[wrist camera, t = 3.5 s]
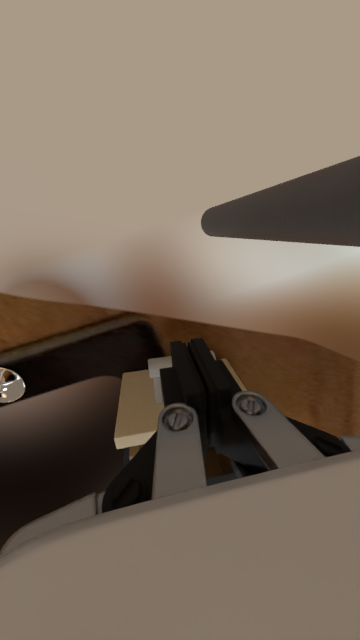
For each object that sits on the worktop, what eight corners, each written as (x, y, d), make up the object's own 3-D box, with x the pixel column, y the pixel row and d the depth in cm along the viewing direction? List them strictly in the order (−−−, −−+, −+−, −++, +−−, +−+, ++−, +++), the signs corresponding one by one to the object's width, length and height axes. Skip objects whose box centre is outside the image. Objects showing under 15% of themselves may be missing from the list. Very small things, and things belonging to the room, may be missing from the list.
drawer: (115, 337, 21) (102, 392, 14) (227, 323, 22) (267, 367, 15) (139, 457, 28) (138, 535, 21) (223, 441, 29) (248, 508, 22)
